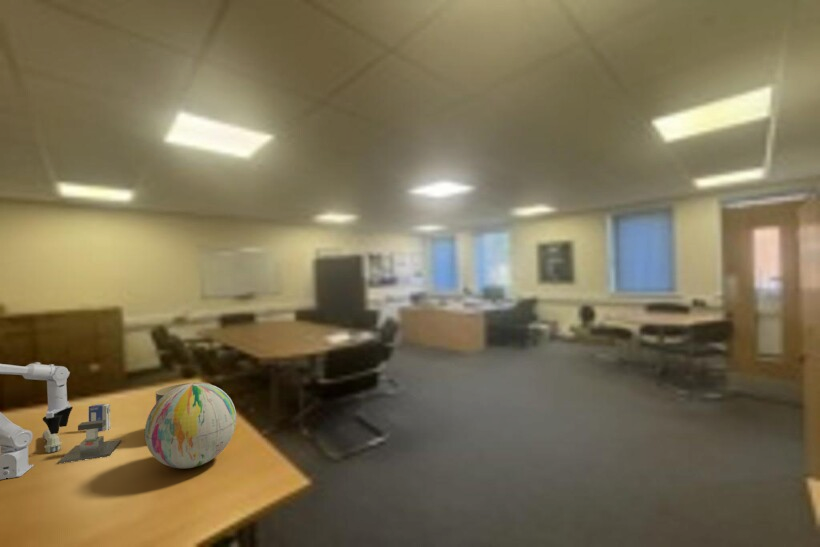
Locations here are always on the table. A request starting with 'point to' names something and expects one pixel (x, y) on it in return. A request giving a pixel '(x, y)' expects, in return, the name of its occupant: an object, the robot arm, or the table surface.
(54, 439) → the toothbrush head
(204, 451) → the globe
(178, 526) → the table surface
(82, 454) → the jack base
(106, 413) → the walkman
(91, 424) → the jack column
